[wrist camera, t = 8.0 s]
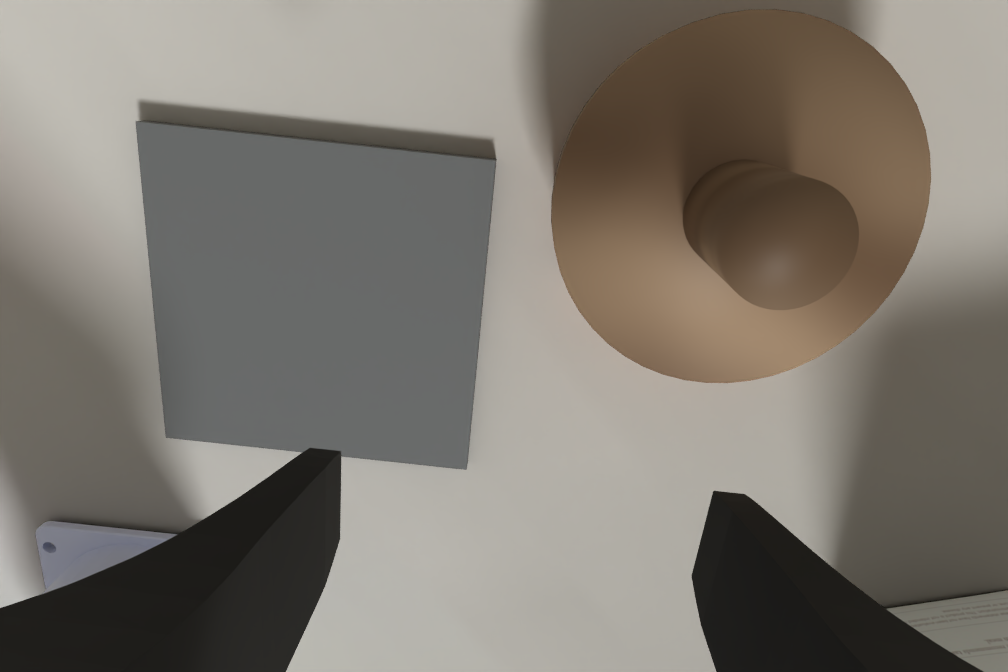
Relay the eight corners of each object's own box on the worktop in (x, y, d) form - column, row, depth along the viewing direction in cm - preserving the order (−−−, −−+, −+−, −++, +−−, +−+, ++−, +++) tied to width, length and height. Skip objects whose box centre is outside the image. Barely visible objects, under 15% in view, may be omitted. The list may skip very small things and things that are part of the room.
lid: (833, 399, 20) (914, 481, 15) (519, 337, 19) (517, 405, 15) (977, 57, 16) (1130, 47, 12) (598, -25, 16) (623, -65, 12)
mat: (467, 462, 24) (466, 469, 24) (172, 430, 24) (165, 437, 24) (496, 159, 20) (495, 160, 20) (144, 120, 20) (135, 121, 20)
